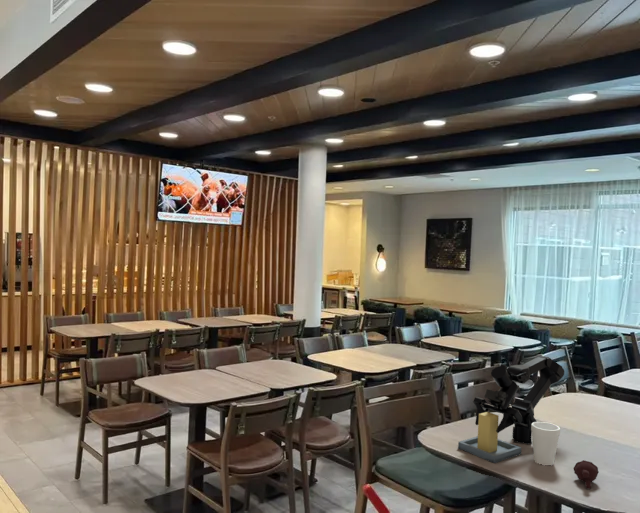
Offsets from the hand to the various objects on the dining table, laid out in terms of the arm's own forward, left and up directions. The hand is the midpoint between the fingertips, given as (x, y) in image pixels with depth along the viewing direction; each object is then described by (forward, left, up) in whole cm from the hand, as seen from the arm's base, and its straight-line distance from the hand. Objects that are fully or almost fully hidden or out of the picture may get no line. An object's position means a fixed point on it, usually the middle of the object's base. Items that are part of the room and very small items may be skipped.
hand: (486, 428), depth 198 cm
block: (-1, -1, -8) cm, 8 cm away
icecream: (-32, +13, -9) cm, 35 cm away
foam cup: (-20, +1, -9) cm, 22 cm away
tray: (-1, -2, -9) cm, 9 cm away
